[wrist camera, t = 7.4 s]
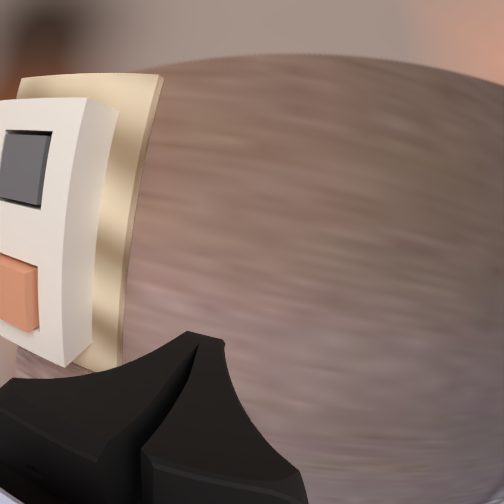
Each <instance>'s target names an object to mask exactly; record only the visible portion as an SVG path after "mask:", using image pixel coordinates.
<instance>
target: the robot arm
mask: <svg viewBox="0 0 504 504" xmlns="http://www.w3.org/2000/svg"><path fill="white" fill-rule="evenodd" d="M224 347H225V342H224V341H223V340H222V339H218V338H214V337H210V336H206V335H202V334H198V333H194V332H190V331H186V332H185V333H183V334H181V335H180V336H178V337H176V338H175V339H173V340H172V341H170V342H168V343H167V344H165V345H163V346H162V347H160V348H158V349H156V350H154V351H153V352H151V353H149V354H147V355H145V356H143V357H141V358H138V359H136V360H134V361H132V362H129V363H127V364H124V365H121V366H118V367H115V368H112V369H109V370H105V371H101V372H96V373H91V374H87V375H82V376H75V377H67V378H55V379H25V378H12V379H10V380H9V381H8V382H7V383H6V384H4V385H3V386H2V387H1V388H0V504H308V498H307V494H306V490H305V486H304V483H303V480H302V477H301V474H300V471H299V470H298V469H296V468H295V467H294V466H293V465H292V464H290V463H289V462H288V461H287V460H286V459H285V458H283V457H282V456H281V455H280V454H279V453H278V452H276V451H275V450H274V449H273V448H272V446H271V445H270V444H269V443H268V442H267V441H266V440H265V439H264V437H263V436H262V435H261V433H260V432H259V431H258V430H257V428H256V427H255V426H254V424H253V423H252V422H251V420H250V418H249V417H248V415H247V414H246V411H245V410H244V408H243V407H242V405H241V403H240V401H239V399H238V397H237V394H236V392H235V390H234V387H233V385H232V382H231V379H230V376H229V372H228V368H227V365H226V360H225V352H224Z"/></svg>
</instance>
